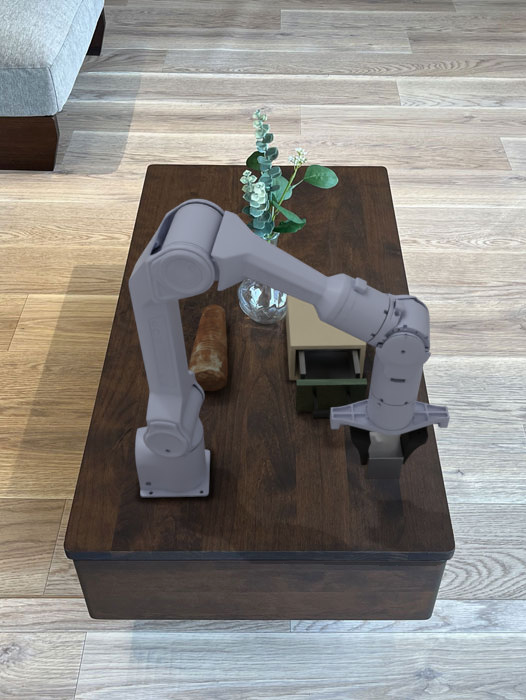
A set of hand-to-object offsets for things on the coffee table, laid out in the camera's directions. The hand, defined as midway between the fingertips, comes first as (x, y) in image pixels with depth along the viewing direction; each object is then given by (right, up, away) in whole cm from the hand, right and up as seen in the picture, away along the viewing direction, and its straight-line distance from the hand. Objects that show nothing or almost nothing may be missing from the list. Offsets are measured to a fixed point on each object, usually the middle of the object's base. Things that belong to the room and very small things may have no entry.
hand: (382, 458), depth 105 cm
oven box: (-6, +14, +27) cm, 31 cm away
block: (0, -1, +1) cm, 1 cm away
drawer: (-6, +8, +19) cm, 21 cm away
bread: (-25, +13, +26) cm, 38 cm away
